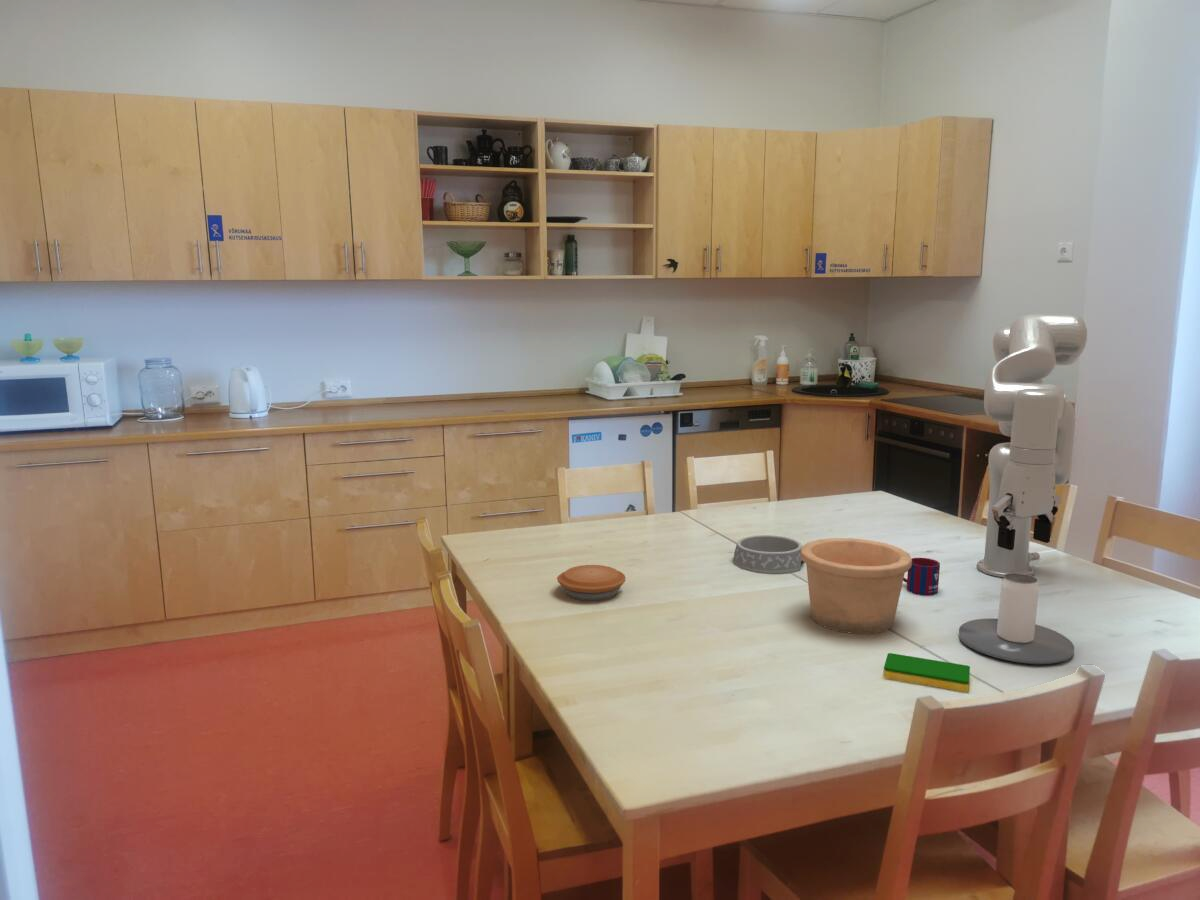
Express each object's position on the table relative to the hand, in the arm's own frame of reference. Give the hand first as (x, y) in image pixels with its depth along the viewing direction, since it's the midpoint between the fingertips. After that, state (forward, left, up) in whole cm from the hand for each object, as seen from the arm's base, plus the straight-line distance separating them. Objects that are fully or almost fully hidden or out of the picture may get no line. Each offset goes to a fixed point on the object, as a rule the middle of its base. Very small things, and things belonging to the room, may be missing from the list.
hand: (1023, 544), depth 162 cm
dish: (0, 0, -20) cm, 20 cm away
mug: (-7, -32, -20) cm, 38 cm away
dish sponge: (+26, +3, -21) cm, 34 cm away
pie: (+61, -62, -20) cm, 89 cm away
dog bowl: (+12, -62, -21) cm, 66 cm away
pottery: (+19, -24, -20) cm, 37 cm away
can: (0, 0, -19) cm, 19 cm away
